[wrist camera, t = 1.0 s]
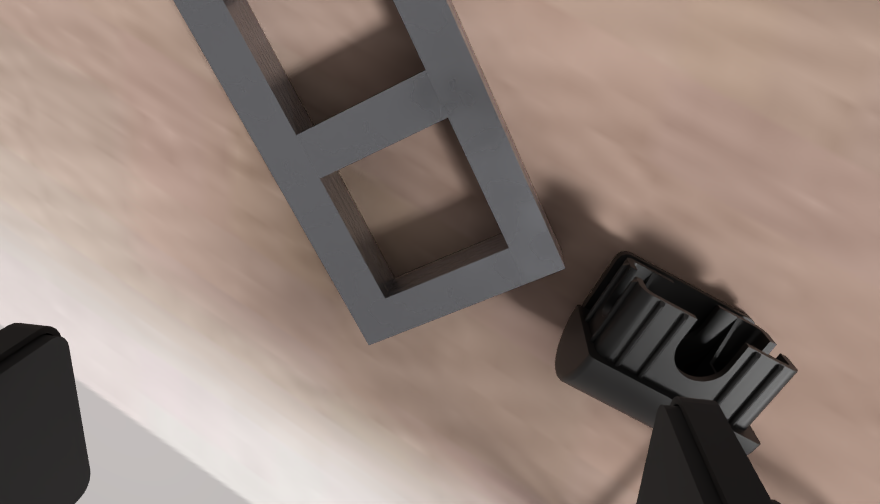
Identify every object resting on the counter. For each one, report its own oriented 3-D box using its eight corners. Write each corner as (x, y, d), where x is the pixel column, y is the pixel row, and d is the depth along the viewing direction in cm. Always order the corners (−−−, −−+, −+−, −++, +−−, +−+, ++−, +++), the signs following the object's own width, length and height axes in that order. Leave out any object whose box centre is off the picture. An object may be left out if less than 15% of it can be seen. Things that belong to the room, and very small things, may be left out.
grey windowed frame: (386, -147, 29) (373, -165, 27) (561, 249, 35) (565, 268, 32) (187, -26, 32) (156, -30, 30) (379, 321, 38) (368, 345, 35)
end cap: (549, 338, 37) (557, 401, 31) (613, 243, 35) (636, 291, 29) (689, 411, 38) (724, 488, 32) (762, 322, 36) (816, 386, 29)
